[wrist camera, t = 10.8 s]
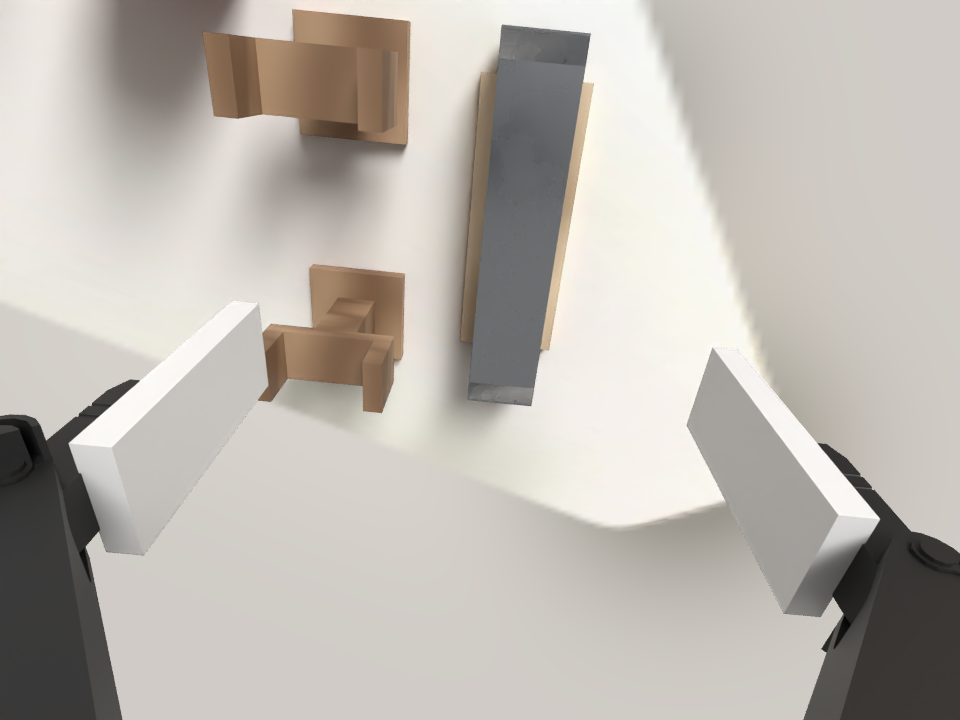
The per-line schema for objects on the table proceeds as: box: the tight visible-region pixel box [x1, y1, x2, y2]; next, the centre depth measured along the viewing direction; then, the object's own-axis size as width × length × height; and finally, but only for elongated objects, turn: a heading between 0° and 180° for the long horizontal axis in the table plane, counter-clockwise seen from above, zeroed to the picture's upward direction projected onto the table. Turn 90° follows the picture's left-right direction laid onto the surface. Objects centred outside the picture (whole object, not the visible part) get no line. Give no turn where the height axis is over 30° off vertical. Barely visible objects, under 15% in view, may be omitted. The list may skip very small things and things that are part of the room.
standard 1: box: [258, 264, 405, 413], centre depth 32 cm, size 7×6×10 cm
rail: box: [468, 25, 591, 406], centre depth 31 cm, size 4×20×4 cm, turn 175°
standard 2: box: [203, 9, 410, 145], centre depth 26 cm, size 7×6×10 cm
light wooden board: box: [460, 72, 594, 350], centre depth 33 cm, size 6×16×1 cm, turn 175°
